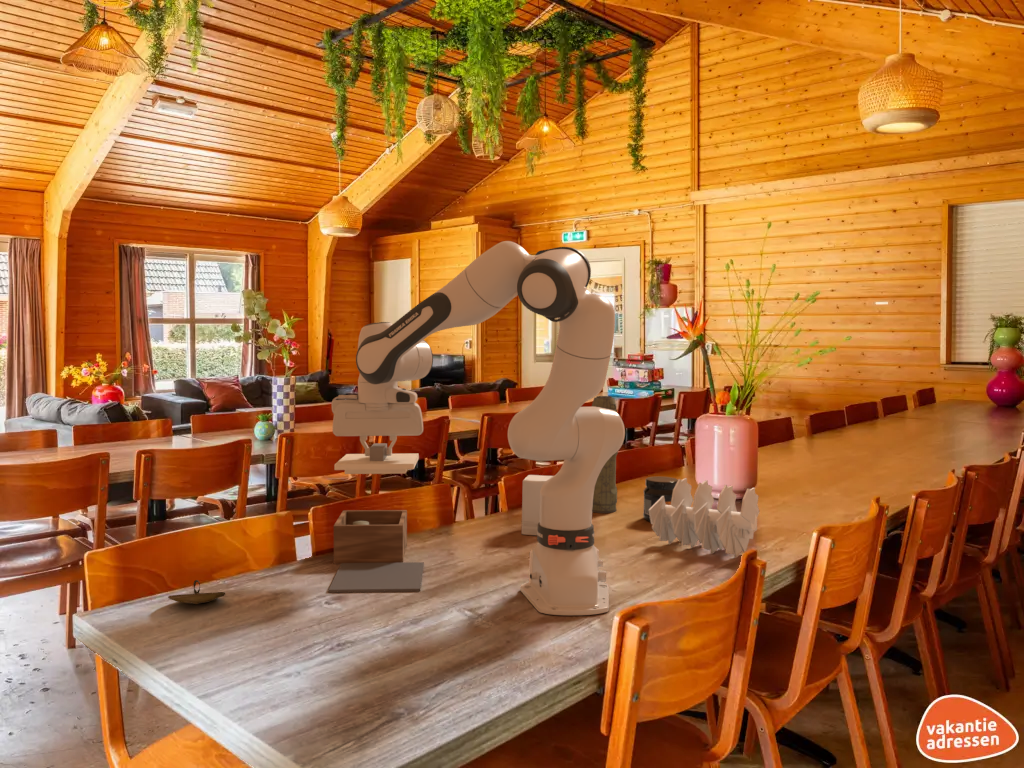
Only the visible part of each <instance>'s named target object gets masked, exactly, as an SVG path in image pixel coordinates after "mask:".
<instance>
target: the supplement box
mask: <svg viewBox="0 0 1024 768" xmlns="http://www.w3.org/2000/svg"><path fill="white" fill-rule="evenodd" d="M553 476H554V475H541V474H540V475H539V474H528V475H527V476H526V477H525V478H524V479H523V480H522V489H521V490H522V497H521V498H522V499H521V501H522V502H521V504H522V505H521V535H527V536H528V535H529V536H537V527H538V523H539V522H540V491H541V488H542V486H543V484H544V483H545V482H546V481H547V480H548V479H550V478H551V477H553Z"/></svg>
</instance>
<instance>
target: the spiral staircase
mask: <svg viewBox="0 0 1024 768" xmlns="http://www.w3.org/2000/svg"><path fill="white" fill-rule="evenodd" d="M733 489H734V488H733V485H730V486H728V485H727V484H724V485H723V488H722V489H721V491H720V493H719V495H718V500H717V506H716V509H713V505H714V502H715V499H714V497H713V494H712V492H713V486H712V485H710V484H709V481H708V480H707V479H705V480H704V481H702V482H699V483H698V485H697V488H696V489H695V493H694V496H692V494H691V492H692V485H691V484H690V483H688V478H687V477H685V478H683V479H681V478H678V481H677V483H676V485H675V487H674V489H673V493H672V499H671V505H666V504H665V499H664V496H662V497H661V498H660V499H659V500H658V501H657V502H656V503H655V504H654V505H653V506H652V507H651V508H650V509H649V515H650V521H651V522H650V521H649V522H650V524H651V529H652V530H653V532H654V534H655V535H656V536H657V537H658V541H663V542H668V545H671V544H672V543H673V542H674V540H676V539H677V540H678V541H680V543H681V544H680V546H690V548H691V549H693V548H694V547H695V546H696V544H697V543H698V542H699V544H701V548H702V549H704V550H707V551H710V554H712V555H713V554H714V553H715V552H716V551H717V550H718V549H719V550H720V551H722V550H723V549H725V554H728V555H730V554H731V555H734V558H735V557H736V558H735V559H737V558H738V556H740V554H742V552H743V553H745V552H744V551H747V549H748V546H749V543H750V540H754V533H755V532H756V531H758V516H759V514H760V509H759V505H758V503H759V497H760V496H759V495H758V494H757V493H756V487H752V488H746V490H745V493H744V495H743V497H742V502H741V508H740V511H737V505H736V499H737V494H736V493H735V492H734V490H733Z"/></svg>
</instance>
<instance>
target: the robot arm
mask: <svg viewBox="0 0 1024 768" xmlns="http://www.w3.org/2000/svg"><path fill="white" fill-rule="evenodd" d="M591 268H592V267H591V264H590V262H589V259H588V258H587V256H586V255H585V254H584V253H583V252H582V251H581V250H578V249H577V248H574V247H569V246H559V247H553V248H548V249H543V250H539V251H537V252H536V254H535V255H532V254H529V252H528V251H527V250H526V249H525V248H524V247H523V246H521V245H520V244H518V243H516V242H514V241H511V240H505V241H503V240H502V241H501V242H498V243H497V244H494V245H493V246H492V247H490V248H489V249H487V250H485V251H484V252H483V253H482V254H480V255H479V256H478V257H476V258H475V259H474V260H473V261H472V262H470V264H469V265H467V266H466V267H465V268H464V269H463V270H462V271H461V272H460V273H459V274H457V276H454V278H453V279H452V280H450V281H449V282H448V283H447V284H445V285H444V286H443V287H441V288H439V289H438V290H437V291H435V292H434V293H432V294H431V295H429V296H428V297H426V298H425V299H423V300H422V301H421V302H419V303H418V304H417V305H415V306H414V307H413V308H411V309H410V310H408V312H406V313H405V314H403V316H401V317H400V318H399V319H397V320H396V321H394V323H392V322H388V321H381V322H379V321H378V322H373V323H372V322H371V323H369V324H365V325H364V326H363V327H361V330H360V331H359V335H358V342H357V351H356V354H355V364H356V368H357V371H358V372H359V374H358V375H359V376H358V378H357V392H358V393H357V394H348V395H346V394H339V395H338V396H336V397H334V398H333V399H332V401H331V412H332V414H333V420H332V434H333V435H334V436H335V437H359V442H360V444H361V445H362V447H363V448H364V454H365V456H370V447H371V446H369V445H368V443H367V442H366V441H367V440H368V437H380V436H381V437H387V436H388V437H389V441H391V443H390V445H389V446H387V447H385V456H392V454H393V448H394V446H395V444H396V442H397V440H398V437H400V436H401V437H402V436H404V437H405V436H416V437H417V436H420V435H422V434H423V433H424V420H423V413H422V409H421V406H420V405H419V404H418V403H417V401H418V394H417V392H415V391H411V390H409V389H406V388H402V387H399V386H398V385H399V384H398V383H399V382H407V381H409V382H411V381H417V380H421V379H424V378H425V377H427V376H428V375H429V373H430V372H431V370H432V367H433V365H434V364H433V363H434V354H433V350H432V348H431V347H430V344H429V343H428V342H427V341H426V340H425V339H426V338H427V337H429V336H431V335H433V334H435V333H438V332H440V331H444V330H448V329H453V328H460V327H468V326H475V325H479V324H481V323H483V322H485V321H487V320H489V319H490V318H492V317H494V316H495V315H496V314H497V313H499V312H500V311H501V310H502V309H503V308H505V306H507V305H508V304H509V303H510V302H511V301H512V300H514V298H516V297H517V296H518V299H519V301H520V302H521V303H522V305H523V306H524V307H525V308H526V309H527V310H529V311H531V312H532V313H534V314H537V315H539V316H542V317H544V318H546V319H548V320H549V321H551V322H553V323H558V322H559V328H558V335H557V341H556V346H555V349H554V356H553V360H552V364H551V368H550V372H549V376H548V378H547V381H546V383H545V384H544V386H543V387H542V390H540V392H539V394H538V395H537V396H536V397H535V398H534V399H533V400H532V402H530V404H528V405H527V406H526V407H524V408H523V409H522V410H520V411H518V412H516V413H515V414H514V416H512V418H511V420H510V422H509V424H508V428H507V440H508V445H509V447H510V449H511V450H512V452H513V453H514V455H515V456H517V457H518V458H520V459H524V460H530V461H537V462H546V461H547V462H548V461H562V460H563V463H562V465H561V467H560V469H559V470H558V472H557V473H556V474H555V475H552V476H553V477H551V478H550V479H548V480H547V481H546V482H545V483H544V484H543V486H542V488H541V491H540V522H539V523H538V527H537V535H536V540H537V544H536V545H535V546H534V547H533V548H532V549H531V550H530V551H529V563H528V564H529V565H528V566H529V568H528V581H527V582H525V583H521V585H520V589H519V591H520V592H521V593H522V594H523V596H524V597H525V598H526V599H527V600H528V601H529V602H530V604H531V605H532V606H533V607H534V608H535V609H536V610H537V611H538V612H539V613H541V614H546V615H554V616H590V615H600V614H603V613H604V614H605V613H607V612H609V608H610V607H609V606H610V604H609V603H610V602H609V601H610V599H609V598H610V595H609V593H610V587H609V584H608V583H607V570H601V569H600V568H602V567H603V565H604V561H603V560H602V559H600V549H598V547H596V546H595V545H594V544H595V527H594V524H593V522H592V521H593V512H592V506H593V494H594V488H595V484H596V481H597V478H598V476H599V474H600V472H601V470H602V468H603V466H604V465H605V463H606V462H607V461H608V460H609V459H610V457H611V456H613V455H614V454H615V453H616V452H617V451H618V452H619V451H620V449H621V447H622V445H624V440H625V436H626V430H625V428H626V427H625V424H624V421H623V419H622V417H621V415H620V414H619V413H618V412H617V411H616V412H615V411H614V410H610V409H606V408H600V407H594V406H593V407H592V406H583V405H584V404H585V403H586V402H588V401H589V400H591V399H594V398H596V397H597V396H599V394H600V392H601V391H602V390H603V389H604V387H605V383H606V380H607V376H608V375H607V374H608V370H609V366H610V360H611V355H612V350H613V346H614V339H615V338H614V337H615V328H616V327H615V326H616V325H615V324H616V318H615V317H616V316H615V315H616V314H615V313H616V312H615V308H614V306H613V303H611V301H610V300H609V299H608V298H606V297H604V296H602V295H600V294H596V293H592V292H591V291H590V290H589V289H588V285H589V284H590V280H591V273H592V270H591ZM618 414H619V415H620V416H619V415H618Z"/></svg>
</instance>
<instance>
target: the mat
mask: <svg viewBox="0 0 1024 768" xmlns="http://www.w3.org/2000/svg"><path fill="white" fill-rule="evenodd" d="M339 565H340V566H339V568H338V569H337V571H336V574H335V576H334V577H333V580H332V582H331V584H330V586H329V587H328V593H331V594H332V593H393V592H394V593H396V592H397V593H398V592H399V593H401V592H402V593H404V592H421V590H422V589H421V588H422V582H423V581H422V580H423V572H424V566H425V563H424V562H423V561H420V562H419V561H417V562H413V561H412V562H411V561H410V562H409V561H408V562H404V561H403V562H400V563H341V564H339Z"/></svg>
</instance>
